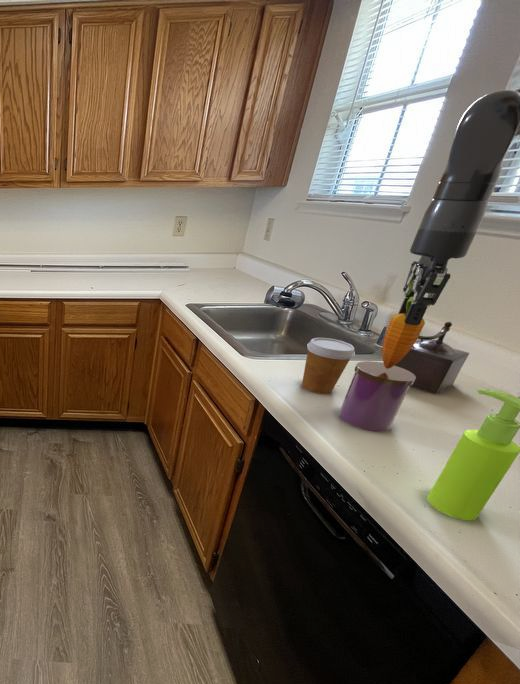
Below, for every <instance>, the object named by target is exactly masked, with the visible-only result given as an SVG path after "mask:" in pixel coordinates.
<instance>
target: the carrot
mask: <svg viewBox="0 0 520 684" xmlns="http://www.w3.org/2000/svg"><path fill="white" fill-rule="evenodd" d="M412 300H413V297H410V298H409V300H408V301H407V305H406V313H402V314H398V313H397V314H394V315H392V317H391V318H390V320H389V323H388V325H387V328H386V330H385V334H384V337H383V343H382V348H381V349H382V350H381V357H382V363H384V366H385V368H386V369H389V368H391V367H393V366H394V365H396V364H397V363H398V362H399V361H401V360H402V359H403V358H404V357H405V356H406V354H407V353H408V352H409V351H410V349H411V348H412V346H413V345H414V344H415V342H416V341H418V339H417V338H418V336H420V334H421V332H422V330H423V328H424V326H425V324H424V322H425V319H424V318H422V320H421V323H420V324H419V325H409V324H406V323H405V322H404V320H405V318H406V315H407V313H408V311H409V308H410V306H411V304H412ZM423 319H424V320H423Z"/></svg>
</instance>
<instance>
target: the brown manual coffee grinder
mask: <svg viewBox="0 0 520 684" xmlns="http://www.w3.org/2000/svg"><path fill="white" fill-rule="evenodd" d="M422 319H423V320H424V325H426V322H425V319H424V318H422ZM443 325H444V326H442V328H441V330H440V331H439V332H437V333H436V334H433V335H432V336H430V335H429V336H424V335H419V336H418V338H417V340H416V342H415V344H414V345H413V346H412V348H411V349H410V351H409V352H408V353H407V354H406V356H405V357H404V358H403V359H402V360H401V361H399V362H398V363H397V364H396V365H394V366H397V367H400V368H403V369H405V370H408V371H410V372H411V373H413V374H414V375H415V376H416V379H415V381H414V383H413V384H412V385H410V387H412V388H415V389H417V390H421V391H423V392H427V393H431V394H434V395H436V394H440V393H441V392H444V391H445V390H447V389H449V388H450V387H452V386H453V385H454V384H455V382H456V380H457V377H458V375H459V373H460V371H462V368H463V366H464V365H465V362H466V360H467V359H468V357H469V355H470V352H468V351H464V350H461V349H456V348H453V347H452V346H450V345H449V344H447V343H446V342H444V339H445V337H446V335H447V333H448V332H450V330H451V327H452V326H453V322H451V321H446V322H445V323H444V324H443Z"/></svg>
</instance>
